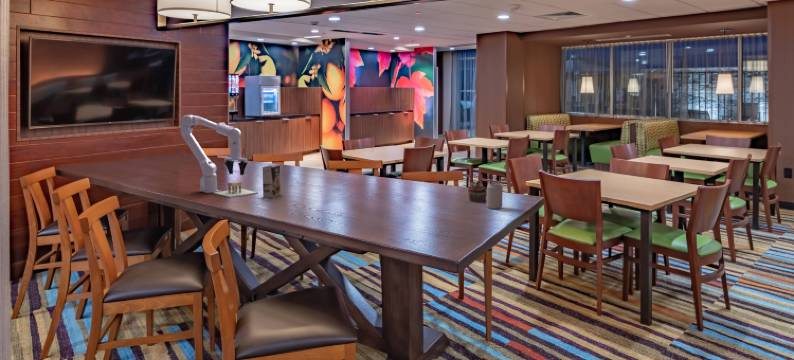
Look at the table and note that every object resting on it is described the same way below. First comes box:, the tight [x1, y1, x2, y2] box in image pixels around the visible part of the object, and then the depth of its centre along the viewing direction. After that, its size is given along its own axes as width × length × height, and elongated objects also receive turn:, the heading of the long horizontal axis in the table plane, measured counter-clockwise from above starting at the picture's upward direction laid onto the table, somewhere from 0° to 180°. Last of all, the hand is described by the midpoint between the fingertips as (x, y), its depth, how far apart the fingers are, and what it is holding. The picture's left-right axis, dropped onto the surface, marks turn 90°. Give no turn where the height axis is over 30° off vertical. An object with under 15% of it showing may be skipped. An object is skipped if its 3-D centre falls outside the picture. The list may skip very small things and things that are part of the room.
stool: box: [226, 180, 243, 194], centre depth 305 cm, size 5×5×6 cm
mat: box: [213, 188, 259, 199], centre depth 306 cm, size 17×17×1 cm
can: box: [485, 182, 504, 210], centre depth 268 cm, size 8×8×12 cm
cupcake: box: [467, 180, 487, 203], centre depth 286 cm, size 10×10×10 cm
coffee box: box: [262, 164, 281, 198], centre depth 297 cm, size 9×6×16 cm
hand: (236, 174), depth 311 cm, fingers open, 7 cm apart
